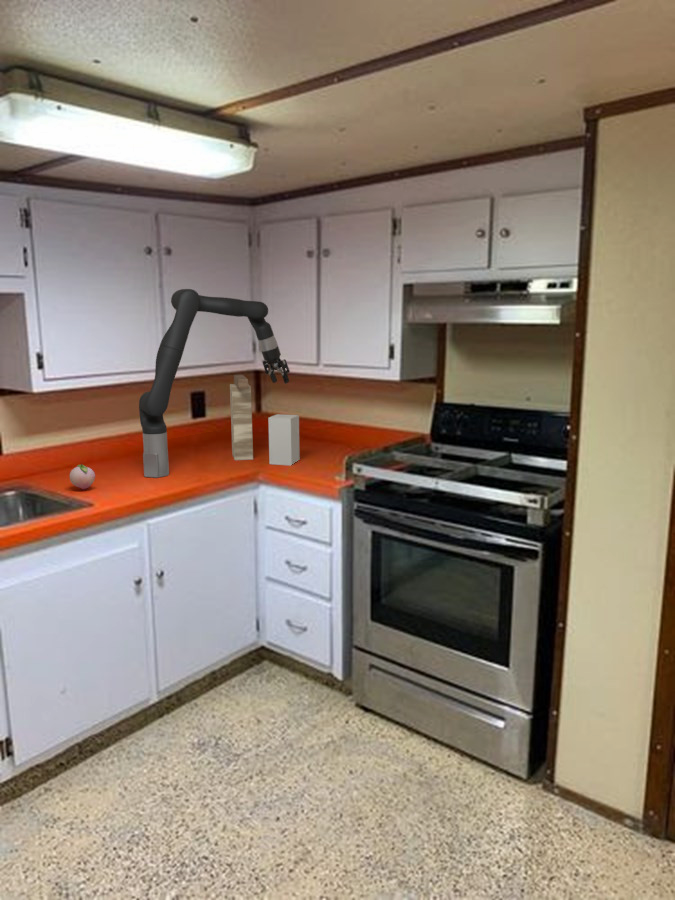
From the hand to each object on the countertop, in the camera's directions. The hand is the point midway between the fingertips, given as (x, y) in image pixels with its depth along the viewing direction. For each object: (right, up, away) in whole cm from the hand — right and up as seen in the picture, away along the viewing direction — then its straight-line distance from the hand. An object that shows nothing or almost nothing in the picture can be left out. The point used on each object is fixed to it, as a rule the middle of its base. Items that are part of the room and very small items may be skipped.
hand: (281, 382), depth 299 cm
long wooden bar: (-17, -2, -2) cm, 17 cm away
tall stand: (-18, -33, +8) cm, 38 cm away
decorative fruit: (-69, -44, -47) cm, 94 cm away
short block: (+2, -35, -3) cm, 35 cm away
